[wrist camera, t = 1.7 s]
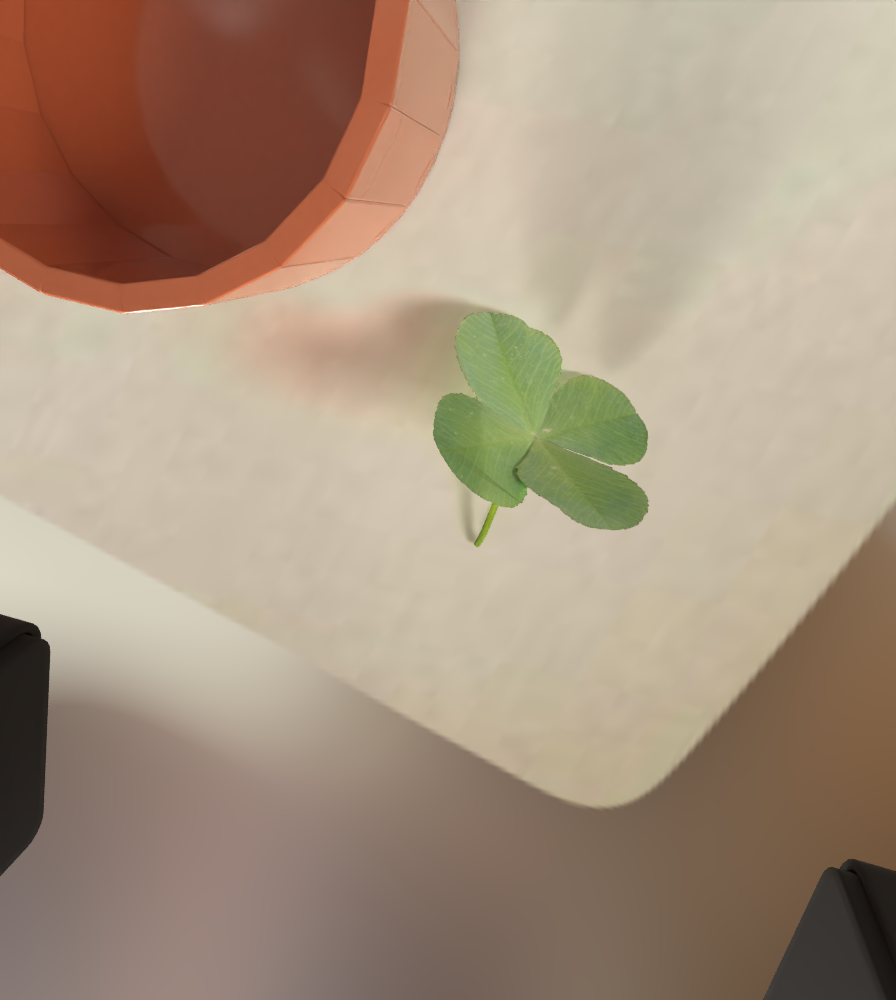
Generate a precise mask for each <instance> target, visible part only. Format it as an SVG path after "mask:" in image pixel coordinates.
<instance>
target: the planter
mask: <svg viewBox="0 0 896 1000" xmlns="http://www.w3.org/2000/svg"><path fill="white" fill-rule="evenodd" d="M458 67H459V23H458V13H457V3H456V0H0V269H2V270H4V271H5V272H7V273H9V274H10V275H12V276H13V277H15V278H17V279H18V280H20V281H22V282H23V283H25V284H27V285H28V286H30V287H32V288H33V289H35V290H37V291H38V292H41V293H44V294H45V295H48V296H53V297H57V298H61V299H65V300H69V301H73V302H77V303H81V304H86V305H90V306H94V307H98V308H102V309H106V310H110V311H114V312H118V313H125V314H129V313H139V312H149V311H158V310H168V309H178V308H188V307H197V306H205V305H210V304H215V303H220V302H225V301H230V300H235V299H239V298H244V297H249V296H254V295H259V294H264V293H269V292H273V291H278V290H283V289H288V288H293V287H296V286H298V285H300V284H302V283H305V282H307V281H310V280H313V279H315V278H318V277H320V276H322V275H325V274H327V273H329V272H331V271H334V270H336V269H338V268H340V267H341V266H343V265H345V264H346V263H348V262H349V261H351V260H353V259H354V258H356V257H358V256H359V255H361V254H362V253H363V252H364V251H366V250H367V249H368V248H369V247H370V246H372V245H373V244H374V243H375V242H376V241H378V240H379V239H380V238H381V237H383V235H384V234H385V233H386V232H387V231H388V230H389V229H390V228H391V227H392V226H393V225H394V223H395V222H396V221H397V220H398V219H399V218H400V217H401V216H402V215H403V213H404V212H405V210H406V209H407V208H408V206H409V205H410V203H411V202H412V201H413V199H414V198H415V196H416V195H417V193H418V192H419V191H420V189H421V187H422V185H423V183H424V181H425V179H426V178H427V176H428V174H429V172H430V170H431V168H432V166H433V164H434V162H435V160H436V157H437V155H438V152H439V149H440V147H441V144H442V141H443V139H444V136H445V134H446V130H447V126H448V122H449V118H450V114H451V110H452V106H453V102H454V98H455V90H456V82H457V74H458Z"/></svg>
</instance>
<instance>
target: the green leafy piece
mask: <svg viewBox="0 0 896 1000" xmlns="http://www.w3.org/2000/svg"><path fill="white" fill-rule="evenodd" d="M455 349H456V352H457V359H458V361H459V364H460V367H461V370H462V371H463V373H464V375H465V378H466V380H467V382H468V385H469V386H470V388H471V389H472V390H473V392H475V394H476V398H477V399H479V400H481V401H482V402H483V403H482V402H479V401H478V400H477V399H475V398H471V397H469V396H467V395H465V394H462V393H460V394H457V393H456V394H455V393H450V394H448V395H445V396H443V397H442V399H441V400H440V402H439V403H438V407H437V410H436V412H435V419H434V430H433V436H434V440H435V442H436V445H437V447H438V449H439V451H440V453H441V455H442V456H443V458H444V460H445V461H446V463H447V464H448V466H449V467H450V469H451V470H452V472H453V473H454V474H455V475H456V476H457V478H459V480H460V481H461V482H463V483H464V484H465V485H467V487H468V488H470V489H471V491H473V492H474V493H475V494H477V495H478V496H480V497H481V498H483V499H485V500H487V501H491V502H492V506H491V508H490V510H489V513H488V515H487V518H486V520H485V523H484V525H483V527H482V530H481V532H480V534H479V536H478V538H477V539H476V541H475V543H474V545H475V546H476V547H479V546H480V545H481V543H482V542H483V540H484V538H485V536H486V534H487V532H488V530H489V528H490V525H491V523H492V520H493V518H494V515H495V513H496V511H497V508H498V506H502V507H510V508H513V507H515V505H516V506H517V505H518V504H519V503H522V501H523V500H524V497H525V495H527V487H528V488H530V489H531V490H533V492H535V493H536V494H538V496H541V497H543V498H545V499H546V500H548V501H549V502H550V503H551V504H553V505H555V506H557V507H559V508H560V510H561V511H562V512H563V513H564V514H565V515H568V516H569V517H570V518H571V519H572V520H575V521H576V522H577V523H581V524H582V525H585V526H587V527H590V528H598V529H609V530H621V529H625V530H626V529H628V528H631V527H634V526H635V525H637V524H639V522H641V520H643V517H644V515H646V512H647V513H648V511H647V510H648V506H649V505H648V499H647V496H646V495H645V492H644V491H643V490H642V489H641V488H640V487H639V486H638V485H637V483H635V482H633V481H632V480H630V479H629V478H628V476H627V475H624V474H622V473H619V472H617V471H615V470H613V469H612V467H609V466H606V465H604V464H601V463H598V462H596V461H593V460H591V459H590V458H587V457H588V456H589V457H593V458H595V459H597V460H599V461H601V462H604V463H607V464H609V465H613V464H614V465H623V466H625V465H627V464H634V463H636V462H639V461H640V460H641V459H642V458H643V456H644V454H645V453H646V450H647V439H648V434H647V433H648V431H647V429H646V427H645V424H644V422H643V421H642V420H641V418H640V417H639V415H638V414H637V413H636V410H635V408H634V407H633V406H632V404H631V403H630V400H629V399H628V398H627V397H626V396H625V394H624V393H623V392H622V391H620V390H619V389H617V388H615V387H614V386H613V385H611V384H609V383H608V382H606V381H604V380H601V379H599V378H596V377H589V376H584V375H582V376H578V377H576V378H572V379H569V380H568V381H567V382H566V384H564V385H562V386H561V387H560V389H559V390H558V392H557V393H555V394H554V392H555V389H556V387H557V385H558V384H559V382H558V379H559V377H560V374H561V363H562V357H561V355H560V351H559V348H558V347H557V345H556V343H555V342H554V341H553V339H552V338H551V337H549V336H548V335H545V334H544V333H543V332H541V331H538V330H534V329H531V328H529V327H528V326H527V324H526V323H525V322H524V321H523V320H521V319H519V318H517V317H514V316H512V315H510V316H509V315H506V314H504V315H502V314H494V313H489V312H488V313H477V314H471V315H468V317H466V318H465V319H464V320H463V321H462V322H461V324H460V326H459V328H458V332H457V335H456V337H455ZM553 395H554V396H553ZM553 397H554V398H553ZM552 398H553V400H552ZM551 400H552V402H551ZM564 448H565V449H564ZM566 449H568V450H566ZM569 450H571V451H574V452H577V453H580V454H583V455H585V456H587V457H584V456H582V455H579V454H576V453H574V452H571V451H569Z"/></svg>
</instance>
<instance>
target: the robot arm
mask: <svg viewBox="0 0 896 1000" xmlns="http://www.w3.org/2000/svg"><path fill="white" fill-rule="evenodd" d="M49 669H50V646H49V644H48V642H47V641H45V640H44V639H41V633H40V630H39V628H38V627H37V626H36V625H34V624H33V623H29V622H26V621H22V620H19V619H15V618H12V617H8V616H5V615H1V614H0V876H1V875H2V874H3V873H4V871H5V870H6V869H7V868H8V867H9V866H10V865H11V864H12V863H13V862H14V861H15V860H16V859H17V858H18V856H19V855H20V854H21V853H22V852H23V851H24V850H25V849H26V848H27V847H28V845H29V844H30V843H31V842H32V840H33V839H34V837H35V835H36V834H37V832H38V829H39V827H40V825H41V821H42V818H43V809H44V787H45V763H46V738H47V716H48V692H49ZM763 1000H896V871H893V870H890V869H886V868H883V867H879V866H876V865H873V864H869V863H865V862H862V861H858V860H855V859H848V860H847V861H846V862H844V863H843V864H842V866H841V867H840V869H837V868H834V867H829V868H828V869H826V870H825V871H824V873H823V874H822V876H821V878H820V880H819V882H818V884H817V886H816V889H815V891H814V893H813V895H812V897H811V899H810V901H809V903H808V906H807V908H806V910H805V912H804V914H803V916H802V918H801V920H800V923H799V924H798V927H797V929H796V931H795V933H794V935H793V937H792V939H791V942H790V944H789V946H788V948H787V950H786V952H785V954H784V956H783V958H782V961H781V963H780V965H779V967H778V969H777V971H776V973H775V975H774V978H773V980H772V982H771V984H770V986H769V988H768V990H767V992H766V994H765V997H764V999H763Z"/></svg>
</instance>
